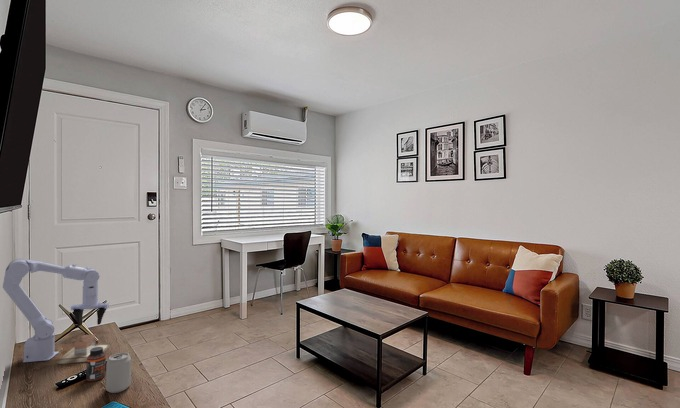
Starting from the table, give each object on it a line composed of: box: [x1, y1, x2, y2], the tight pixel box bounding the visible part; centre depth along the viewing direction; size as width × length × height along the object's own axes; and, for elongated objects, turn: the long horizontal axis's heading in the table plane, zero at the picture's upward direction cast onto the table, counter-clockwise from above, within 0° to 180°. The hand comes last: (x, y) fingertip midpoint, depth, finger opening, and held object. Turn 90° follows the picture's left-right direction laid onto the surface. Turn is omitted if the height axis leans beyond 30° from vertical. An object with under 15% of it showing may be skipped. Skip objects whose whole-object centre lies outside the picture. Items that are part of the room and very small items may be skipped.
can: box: [105, 352, 132, 394], centre depth 123 cm, size 8×8×12 cm
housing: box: [74, 334, 96, 356], centre depth 149 cm, size 4×8×6 cm, turn 15°
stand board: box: [57, 343, 111, 365], centre depth 149 cm, size 14×14×2 cm
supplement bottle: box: [85, 347, 107, 382], centre depth 130 cm, size 6×6×11 cm
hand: (89, 324), depth 157 cm, fingers open, 7 cm apart
